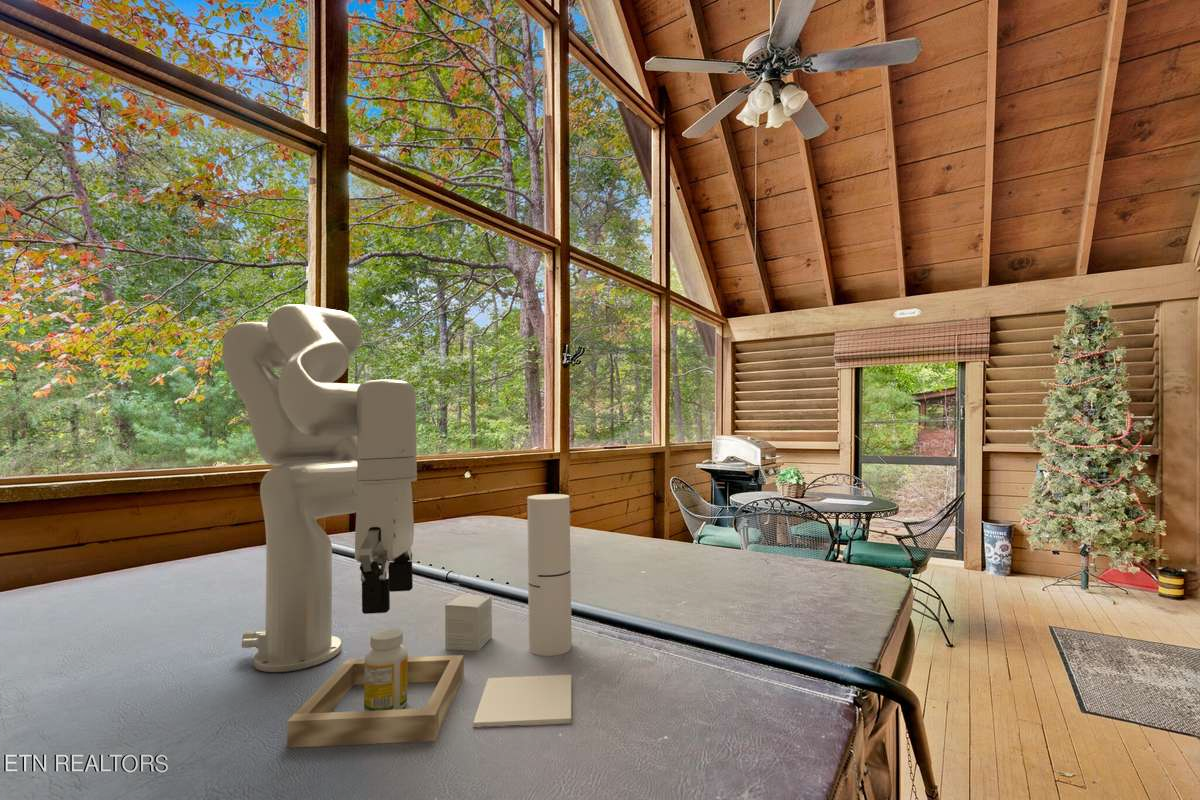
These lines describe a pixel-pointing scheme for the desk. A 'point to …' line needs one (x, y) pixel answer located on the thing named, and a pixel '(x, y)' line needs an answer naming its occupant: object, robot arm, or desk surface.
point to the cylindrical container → (549, 574)
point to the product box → (468, 622)
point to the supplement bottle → (386, 671)
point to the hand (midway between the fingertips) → (389, 600)
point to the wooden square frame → (377, 726)
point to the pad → (525, 701)
